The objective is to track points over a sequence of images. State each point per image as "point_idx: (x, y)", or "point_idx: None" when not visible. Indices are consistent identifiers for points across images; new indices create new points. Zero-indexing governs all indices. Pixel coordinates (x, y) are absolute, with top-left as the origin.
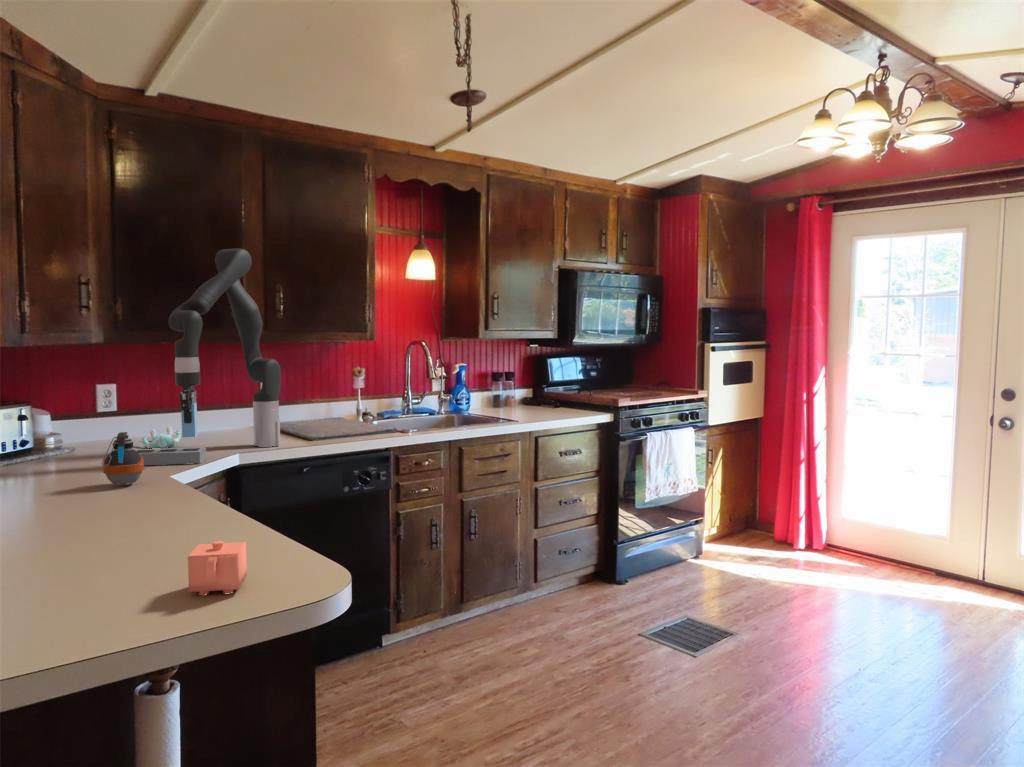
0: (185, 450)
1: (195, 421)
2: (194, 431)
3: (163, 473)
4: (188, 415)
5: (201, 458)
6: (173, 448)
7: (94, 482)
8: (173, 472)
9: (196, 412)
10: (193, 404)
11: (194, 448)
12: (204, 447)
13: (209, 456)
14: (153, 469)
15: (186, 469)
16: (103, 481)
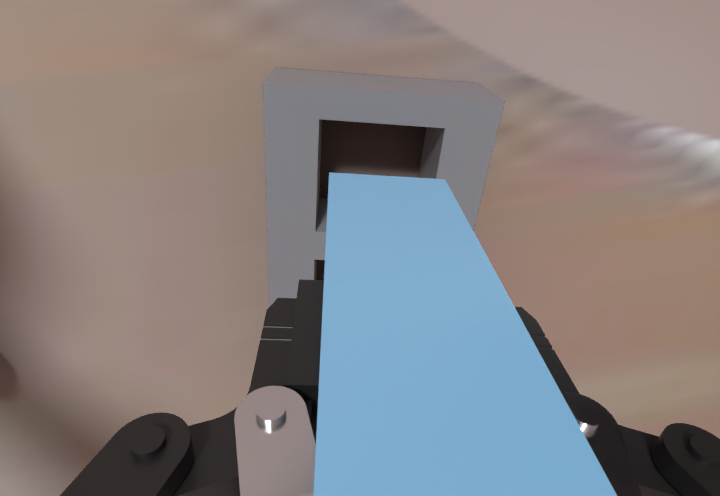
0: (316, 213)
1: (435, 253)
2: (455, 206)
3: (681, 233)
4: (561, 374)
5: (436, 84)
6: (286, 286)
7: (708, 413)
8: (684, 193)
9: (354, 326)
10: (611, 494)
11: (316, 161)
12: (284, 91)
13: (178, 54)
14: (539, 291)
15: (632, 140)
16: (709, 395)
